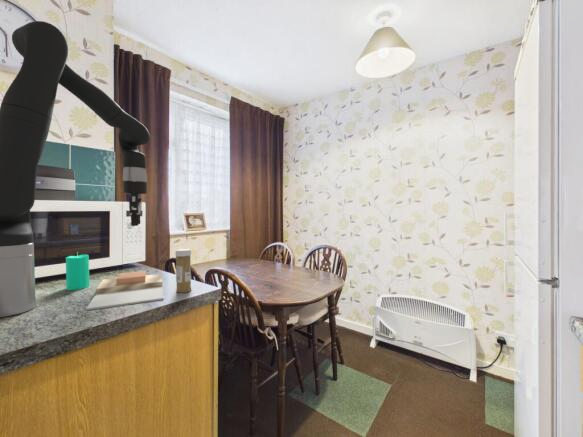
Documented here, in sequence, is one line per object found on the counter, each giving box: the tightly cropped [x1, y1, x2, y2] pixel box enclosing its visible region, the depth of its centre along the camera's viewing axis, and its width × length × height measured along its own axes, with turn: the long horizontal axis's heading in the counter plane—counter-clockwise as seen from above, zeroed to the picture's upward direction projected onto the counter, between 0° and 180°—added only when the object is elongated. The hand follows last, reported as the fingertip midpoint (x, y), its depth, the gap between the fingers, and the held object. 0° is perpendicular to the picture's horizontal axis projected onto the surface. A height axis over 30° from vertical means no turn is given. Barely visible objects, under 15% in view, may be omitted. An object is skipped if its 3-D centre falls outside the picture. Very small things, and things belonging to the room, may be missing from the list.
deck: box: [95, 273, 163, 295], centre depth 89 cm, size 18×12×2 cm, turn 118°
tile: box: [116, 270, 147, 285], centre depth 88 cm, size 8×8×2 cm
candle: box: [65, 251, 90, 291], centre depth 87 cm, size 6×6×12 cm
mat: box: [85, 285, 164, 311], centre depth 77 cm, size 18×13×1 cm
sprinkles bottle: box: [175, 248, 192, 294], centre depth 84 cm, size 5×5×13 cm
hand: (135, 224), depth 96 cm, fingers open, 8 cm apart
